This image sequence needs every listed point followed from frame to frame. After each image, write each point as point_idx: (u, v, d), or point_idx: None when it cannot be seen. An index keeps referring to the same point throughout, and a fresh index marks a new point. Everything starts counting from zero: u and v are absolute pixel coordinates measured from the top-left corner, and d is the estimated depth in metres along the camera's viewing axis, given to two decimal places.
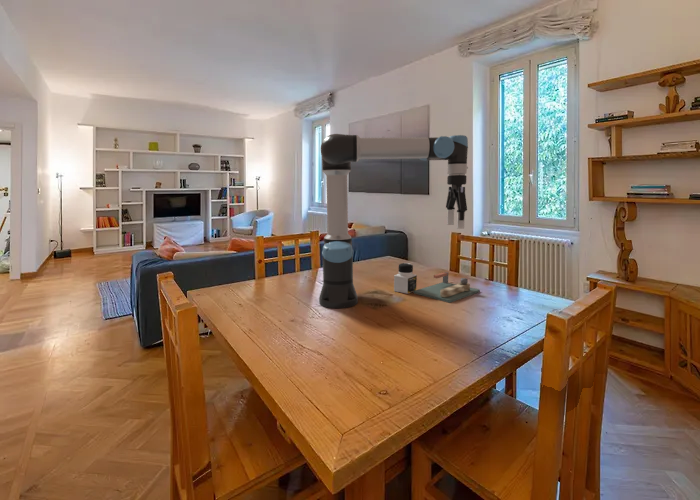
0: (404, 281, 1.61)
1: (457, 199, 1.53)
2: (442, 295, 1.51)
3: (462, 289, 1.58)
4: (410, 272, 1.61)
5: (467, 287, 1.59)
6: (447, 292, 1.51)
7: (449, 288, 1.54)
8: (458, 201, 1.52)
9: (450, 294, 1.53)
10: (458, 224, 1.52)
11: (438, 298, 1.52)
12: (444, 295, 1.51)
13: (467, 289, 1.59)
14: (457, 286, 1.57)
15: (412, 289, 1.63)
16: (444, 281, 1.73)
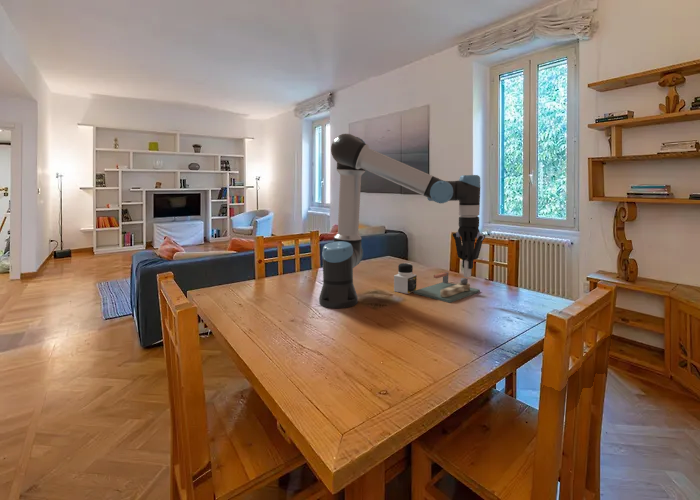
0: (404, 281, 1.61)
1: (471, 246, 1.45)
2: (442, 295, 1.51)
3: (462, 289, 1.58)
4: (410, 272, 1.61)
5: (467, 287, 1.59)
6: (447, 292, 1.51)
7: (449, 288, 1.54)
8: (471, 248, 1.45)
9: (450, 294, 1.53)
10: (467, 273, 1.48)
11: (438, 298, 1.52)
12: (444, 295, 1.51)
13: (467, 289, 1.59)
14: (457, 286, 1.57)
15: (412, 289, 1.63)
16: (444, 281, 1.73)
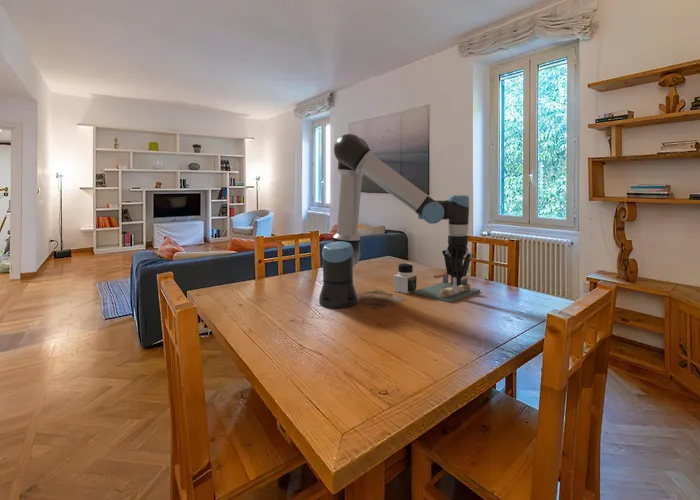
0: (404, 281, 1.61)
1: (459, 264, 1.50)
2: (442, 295, 1.51)
3: (462, 289, 1.58)
4: (410, 272, 1.61)
5: (467, 287, 1.59)
6: (447, 292, 1.51)
7: (449, 288, 1.54)
8: (459, 266, 1.50)
9: (450, 294, 1.53)
10: (456, 289, 1.52)
11: (438, 298, 1.52)
12: (444, 295, 1.51)
13: (467, 289, 1.59)
14: None
15: (412, 289, 1.63)
16: (444, 281, 1.73)
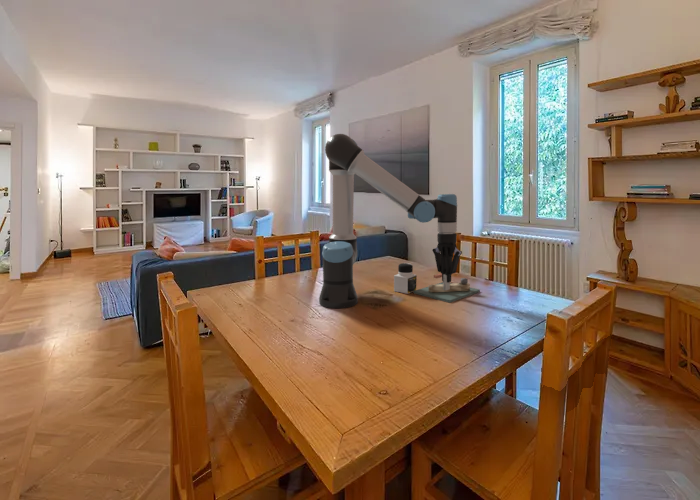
0: (404, 281, 1.61)
1: (449, 261, 1.53)
2: (429, 290, 1.59)
3: (458, 289, 1.59)
4: (410, 272, 1.61)
5: (464, 287, 1.59)
6: (433, 288, 1.58)
7: (440, 285, 1.60)
8: (449, 263, 1.53)
9: (438, 290, 1.58)
10: (446, 286, 1.56)
11: (438, 298, 1.52)
12: (430, 290, 1.58)
13: (464, 289, 1.59)
14: (452, 284, 1.60)
15: (412, 289, 1.63)
16: None
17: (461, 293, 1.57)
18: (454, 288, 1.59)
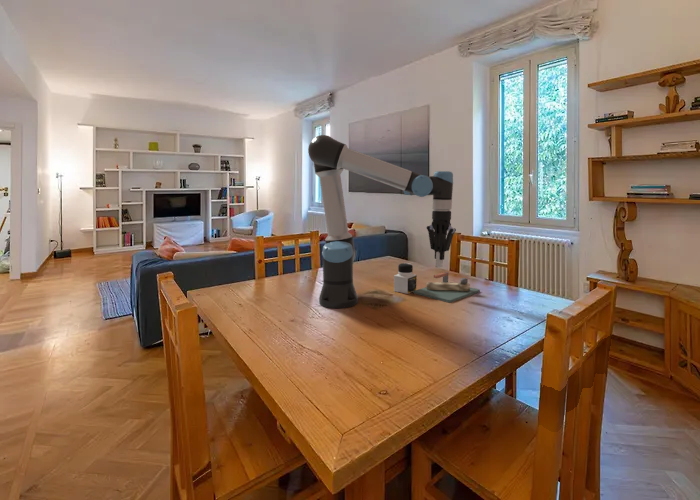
0: (404, 281, 1.61)
1: (442, 238, 1.54)
2: (426, 287, 1.63)
3: (456, 288, 1.60)
4: (410, 272, 1.61)
5: (462, 287, 1.59)
6: (430, 285, 1.62)
7: (438, 283, 1.63)
8: (443, 241, 1.54)
9: (435, 288, 1.62)
10: (439, 263, 1.57)
11: (438, 298, 1.52)
12: (427, 287, 1.63)
13: (462, 289, 1.59)
14: (450, 283, 1.61)
15: (412, 289, 1.63)
16: (444, 281, 1.73)
17: (461, 293, 1.57)
18: (452, 287, 1.60)
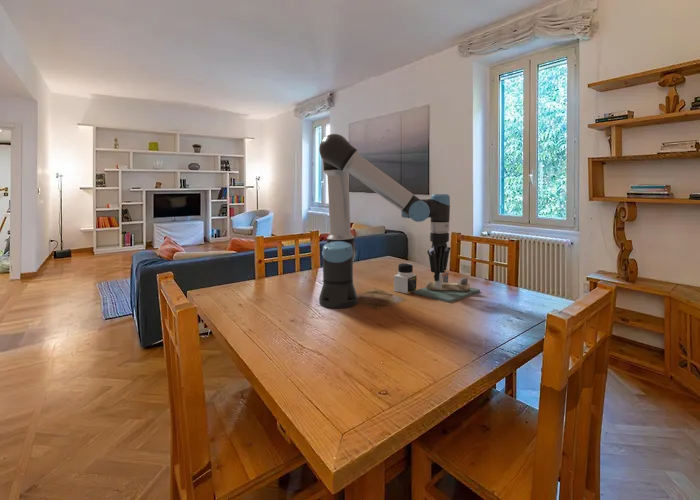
0: (404, 281, 1.61)
1: None
2: (426, 287, 1.63)
3: (456, 288, 1.60)
4: (410, 272, 1.61)
5: (462, 287, 1.59)
6: (430, 285, 1.62)
7: None
8: None
9: (435, 288, 1.62)
10: (435, 283, 1.60)
11: (438, 298, 1.52)
12: (427, 287, 1.63)
13: (462, 289, 1.59)
14: (450, 283, 1.61)
15: (412, 289, 1.63)
16: (444, 281, 1.73)
17: (461, 293, 1.57)
18: (452, 287, 1.60)
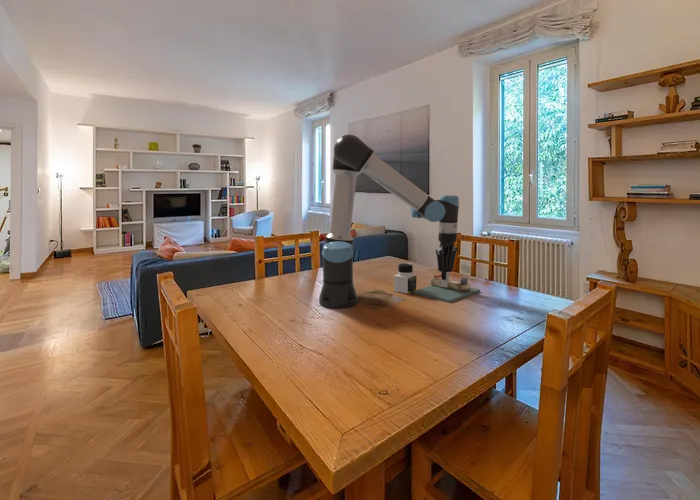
0: (404, 281, 1.61)
1: None
2: None
3: (455, 287, 1.62)
4: (410, 272, 1.61)
5: (459, 286, 1.60)
6: (432, 280, 1.69)
7: (441, 280, 1.68)
8: None
9: (436, 284, 1.68)
10: (442, 282, 1.64)
11: (438, 298, 1.52)
12: (430, 282, 1.70)
13: (459, 288, 1.60)
14: (451, 282, 1.64)
15: (412, 289, 1.63)
16: None
17: (461, 293, 1.57)
18: (451, 285, 1.63)
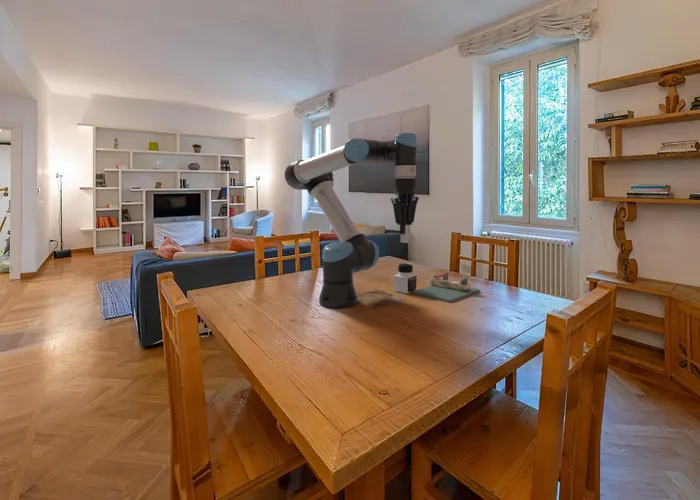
0: (404, 281, 1.61)
1: None
2: None
3: (455, 287, 1.62)
4: (410, 272, 1.61)
5: (459, 286, 1.60)
6: (432, 280, 1.69)
7: (441, 280, 1.68)
8: None
9: (436, 284, 1.68)
10: (401, 238, 1.42)
11: (438, 298, 1.52)
12: (430, 282, 1.70)
13: (459, 288, 1.60)
14: (451, 282, 1.64)
15: (412, 289, 1.63)
16: None
17: (461, 293, 1.57)
18: (451, 285, 1.63)
